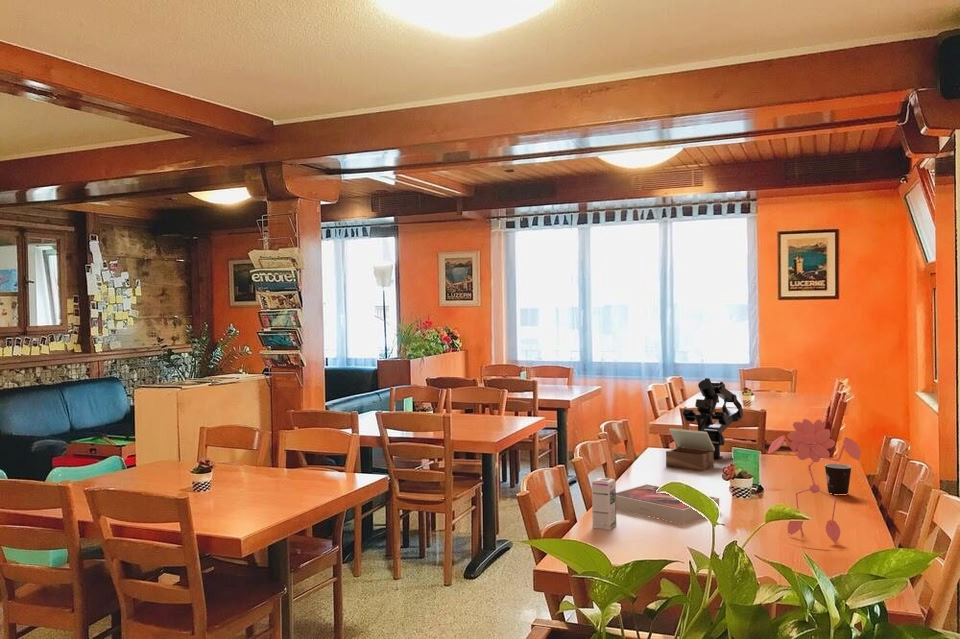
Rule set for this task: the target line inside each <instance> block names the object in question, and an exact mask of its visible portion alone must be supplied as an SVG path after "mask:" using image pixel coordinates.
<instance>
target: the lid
mask: <svg viewBox="0 0 960 639" xmlns="http://www.w3.org/2000/svg"><path fill="white" fill-rule="evenodd" d="M668 430H669V433H670V435H671V437H672V438H673V440H674V443H675V446H676V448H678V447H680V448H689V449H697V450H706V451H707V450H708V451H715V448H714V446H713V444H712V442H711V440H710V437H709V435H708V433H707V432H703V431H698V430H693V429H682V428H681V429H680V428H675V427H674V428H671V427H670V428H669V429H668Z"/></svg>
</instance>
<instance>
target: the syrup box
mask: <svg viewBox="0 0 960 639" xmlns="http://www.w3.org/2000/svg"><path fill="white" fill-rule="evenodd" d="M616 486H617V485H616V479H615V478H611V477H597V478H595V479H594V480H592V481H591V507H592V528H594V529H598V530H606V531H611V530H612V529H613V528H615V527H616V526H617V509H616V492H617V491H616V490H617V489H616Z"/></svg>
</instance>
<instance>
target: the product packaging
mask: <svg viewBox="0 0 960 639" xmlns="http://www.w3.org/2000/svg"><path fill="white" fill-rule="evenodd" d="M659 487H660V486H658V485H652V484H643V485H640V486H639V485H638V486H635V487H631V488H628V489H624V490H620V491H616V511H622V512H627V513H631V514H636V515H639V514H640V515H639V516H643V515H644V517H648V516H650V517H649V518H652V517H655V518H654V519H656V518H659V519H658V520H661V519H664V520H663V521H665V520H667V521H666V522H670V521H672V522H671V523H674V522H676V523H675V524H678V523H680V525H683V524H684V525H686V524H685V523H687V524H689V523H692V522H694V520H695V521H698V520H700V518H701V519H703V518H704V517H703V516H702V515H701V514H699V513H698V512H697V511H695V510H693V509H692V508H691V507H689V506H687V505H685V504H683V503H682V502H680V501H679V500H677V499H675V498H674V497H672V496H670V495H669V494H666V493H656V490H657V489H658V488H659ZM708 496H709V497H710V498H711V499H713V500H714V501H715V502H716V503H717V504H718V506H719V507H720V498H719V497H714V496H710V495H708ZM702 517H703V518H702ZM697 519H698V520H697Z"/></svg>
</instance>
